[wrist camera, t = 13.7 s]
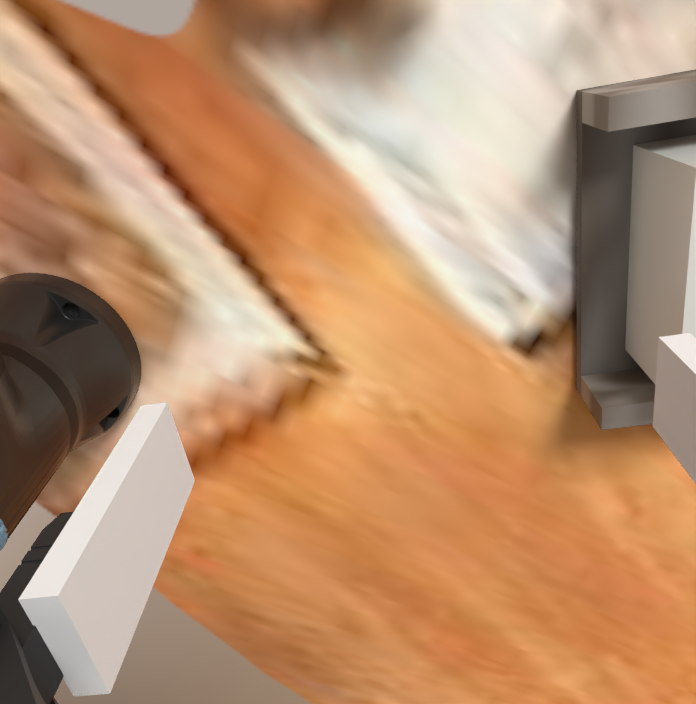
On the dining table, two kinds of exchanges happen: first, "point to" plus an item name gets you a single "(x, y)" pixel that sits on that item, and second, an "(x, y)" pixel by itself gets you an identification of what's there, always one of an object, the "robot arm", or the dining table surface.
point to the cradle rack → (616, 233)
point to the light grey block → (661, 247)
